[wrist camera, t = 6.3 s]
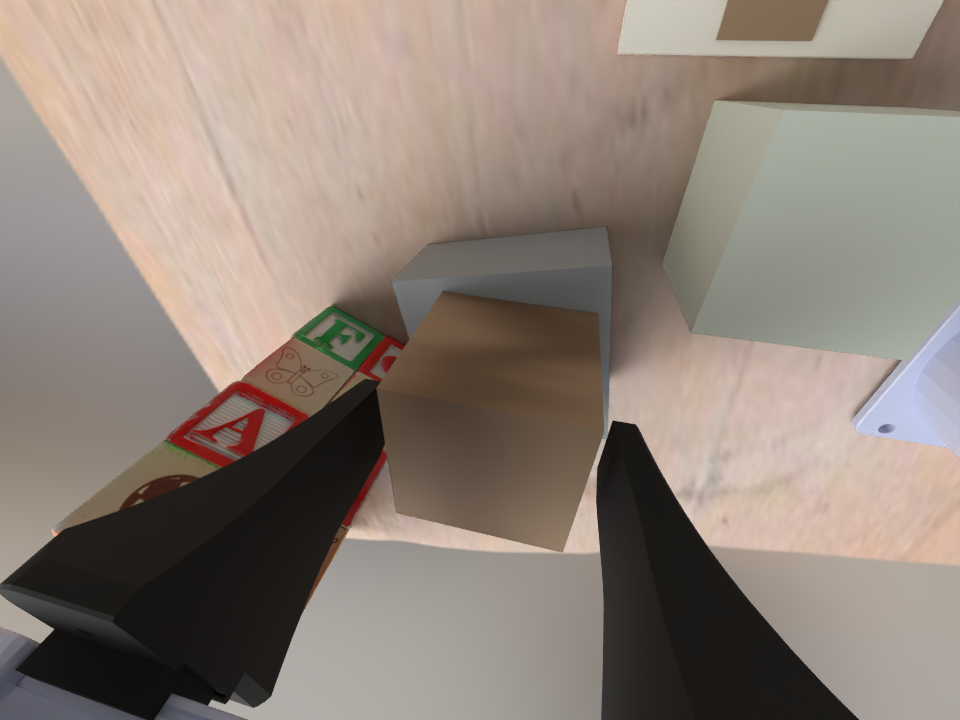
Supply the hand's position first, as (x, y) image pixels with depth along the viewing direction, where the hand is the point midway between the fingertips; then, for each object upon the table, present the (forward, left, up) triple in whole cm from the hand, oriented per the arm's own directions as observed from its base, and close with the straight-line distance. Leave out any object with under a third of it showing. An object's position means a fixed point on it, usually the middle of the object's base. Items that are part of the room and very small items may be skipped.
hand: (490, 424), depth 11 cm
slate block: (0, 0, -7) cm, 7 cm away
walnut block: (0, 0, -3) cm, 3 cm away
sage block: (-8, -5, -7) cm, 11 cm away
